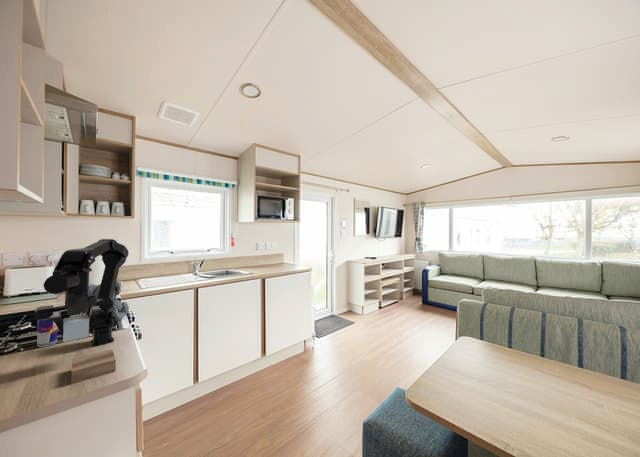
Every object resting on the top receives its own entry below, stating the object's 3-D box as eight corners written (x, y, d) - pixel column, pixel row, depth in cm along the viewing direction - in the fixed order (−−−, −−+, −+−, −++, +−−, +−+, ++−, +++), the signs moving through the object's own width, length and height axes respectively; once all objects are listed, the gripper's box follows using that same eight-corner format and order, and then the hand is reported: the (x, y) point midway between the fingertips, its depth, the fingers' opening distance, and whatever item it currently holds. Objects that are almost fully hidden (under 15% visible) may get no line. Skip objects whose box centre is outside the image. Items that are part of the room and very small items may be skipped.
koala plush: (129, 312, 135) (130, 276, 136) (125, 323, 120) (126, 282, 120) (86, 318, 126) (87, 279, 126) (76, 330, 111) (77, 286, 111)
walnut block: (71, 371, 80) (72, 359, 80) (112, 360, 87) (112, 349, 87) (71, 385, 73) (71, 372, 73) (115, 372, 80) (115, 360, 80)
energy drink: (43, 348, 94) (44, 316, 94) (33, 346, 95) (34, 315, 95) (60, 342, 99) (61, 311, 99) (50, 340, 100) (51, 310, 101)
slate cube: (62, 336, 84) (63, 318, 84) (87, 331, 89) (87, 314, 89) (63, 342, 80) (63, 323, 80) (88, 336, 84) (89, 318, 85)
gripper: (34, 296, 72) (32, 350, 72) (116, 286, 86) (115, 332, 86) (36, 289, 80) (34, 338, 80) (111, 281, 93) (110, 323, 93)
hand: (75, 333), depth 84 cm, fingers closed on slate cube, 6 cm apart
